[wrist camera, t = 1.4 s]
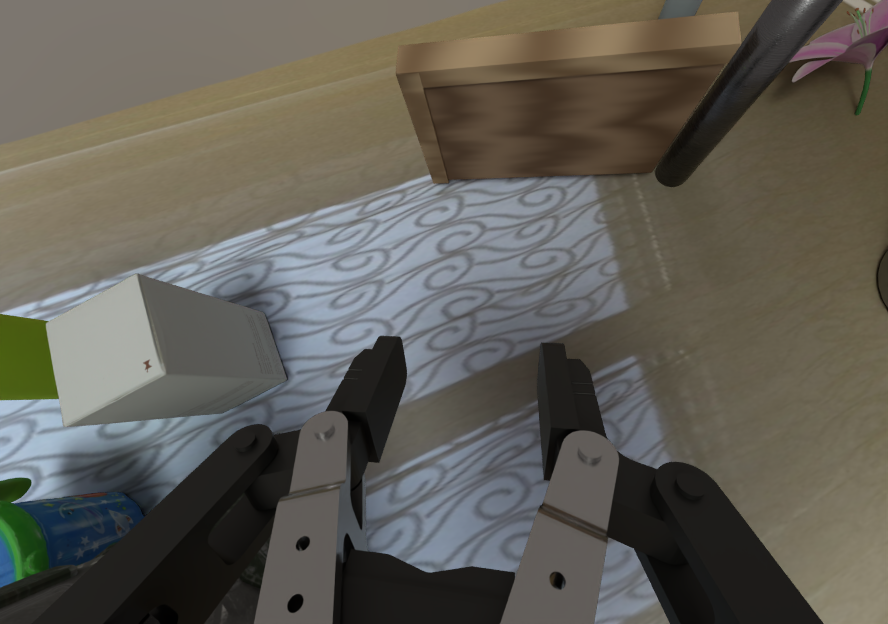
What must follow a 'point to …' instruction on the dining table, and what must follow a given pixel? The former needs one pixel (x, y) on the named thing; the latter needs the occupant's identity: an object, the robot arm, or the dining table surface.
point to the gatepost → (743, 81)
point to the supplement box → (158, 354)
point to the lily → (850, 45)
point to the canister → (20, 603)
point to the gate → (561, 96)
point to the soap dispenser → (25, 360)
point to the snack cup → (58, 528)
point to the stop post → (679, 8)
